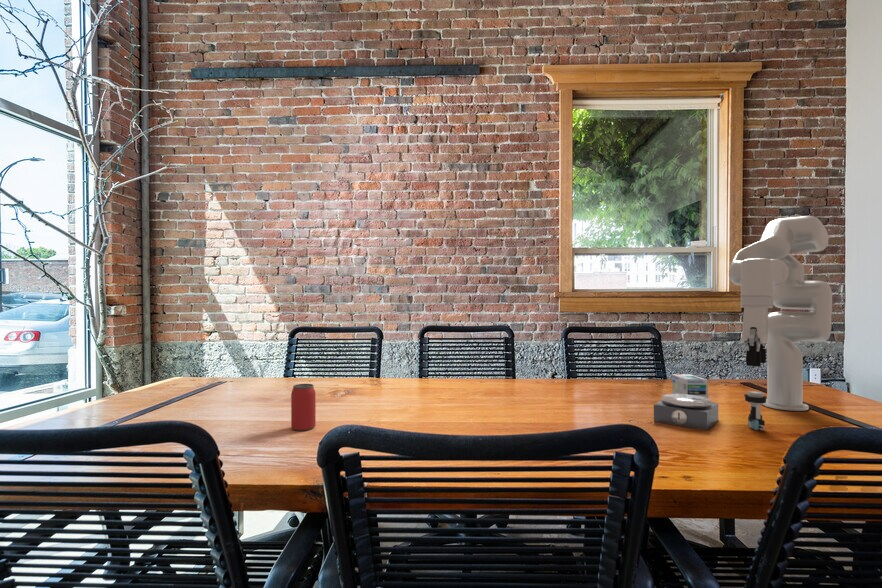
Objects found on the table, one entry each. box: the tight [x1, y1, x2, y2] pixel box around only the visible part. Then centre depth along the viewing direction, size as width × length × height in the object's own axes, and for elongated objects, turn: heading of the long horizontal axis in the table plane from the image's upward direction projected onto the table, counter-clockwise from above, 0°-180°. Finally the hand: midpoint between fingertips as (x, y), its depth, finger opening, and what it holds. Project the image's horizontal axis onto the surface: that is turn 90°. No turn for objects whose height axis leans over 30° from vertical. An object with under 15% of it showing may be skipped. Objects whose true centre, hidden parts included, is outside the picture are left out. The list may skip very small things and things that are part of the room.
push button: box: [743, 390, 767, 431], centre depth 131 cm, size 7×5×10 cm
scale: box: [653, 399, 719, 431], centre depth 139 cm, size 15×14×5 cm
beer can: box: [290, 383, 317, 432], centre depth 132 cm, size 7×7×12 cm
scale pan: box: [661, 393, 712, 408], centre depth 139 cm, size 13×13×1 cm
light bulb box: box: [671, 373, 709, 399], centre depth 153 cm, size 11×7×11 cm, turn 179°
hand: (756, 364), depth 131 cm, fingers open, 9 cm apart
